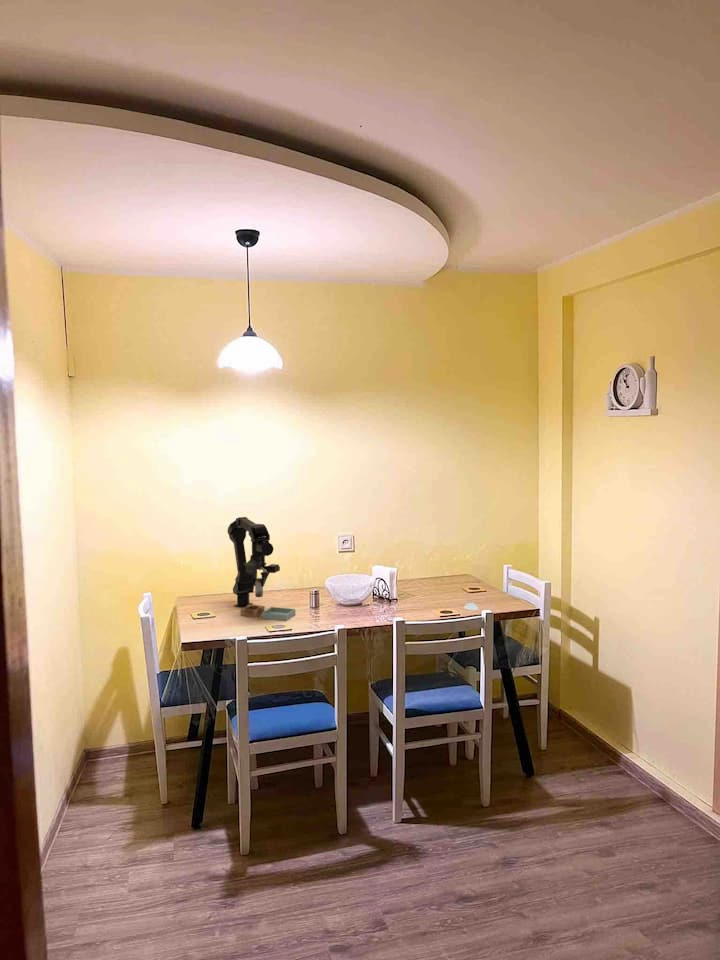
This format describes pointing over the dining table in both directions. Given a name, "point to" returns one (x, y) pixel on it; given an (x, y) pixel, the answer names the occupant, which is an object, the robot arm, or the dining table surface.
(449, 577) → the dining table surface
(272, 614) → the tray
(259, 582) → the pin
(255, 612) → the socket block
